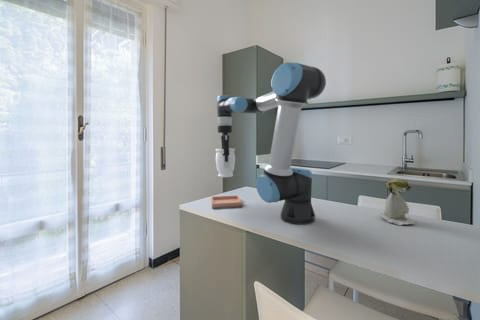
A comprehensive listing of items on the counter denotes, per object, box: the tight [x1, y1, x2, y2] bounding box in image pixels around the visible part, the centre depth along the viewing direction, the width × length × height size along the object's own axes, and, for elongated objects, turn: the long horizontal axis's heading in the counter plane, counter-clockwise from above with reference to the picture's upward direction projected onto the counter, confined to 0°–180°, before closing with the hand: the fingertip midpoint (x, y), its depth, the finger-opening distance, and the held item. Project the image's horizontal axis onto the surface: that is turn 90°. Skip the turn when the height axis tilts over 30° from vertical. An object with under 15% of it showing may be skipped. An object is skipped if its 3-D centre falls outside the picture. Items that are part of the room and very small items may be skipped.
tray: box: [210, 194, 243, 210], centre depth 137 cm, size 15×16×2 cm
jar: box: [215, 147, 236, 178], centre depth 134 cm, size 11×10×15 cm
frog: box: [380, 178, 416, 227], centre depth 108 cm, size 12×13×18 cm
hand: (225, 166), depth 135 cm, fingers closed on jar, 10 cm apart
